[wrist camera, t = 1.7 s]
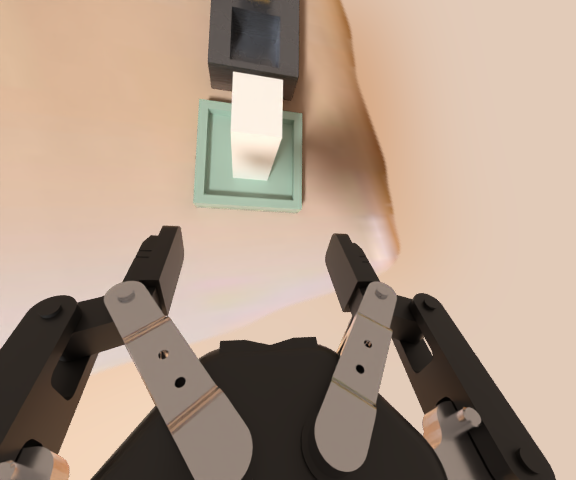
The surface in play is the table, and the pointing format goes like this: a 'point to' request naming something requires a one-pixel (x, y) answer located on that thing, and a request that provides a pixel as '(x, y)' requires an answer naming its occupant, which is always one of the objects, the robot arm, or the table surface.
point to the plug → (255, 124)
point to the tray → (236, 191)
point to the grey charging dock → (254, 41)
